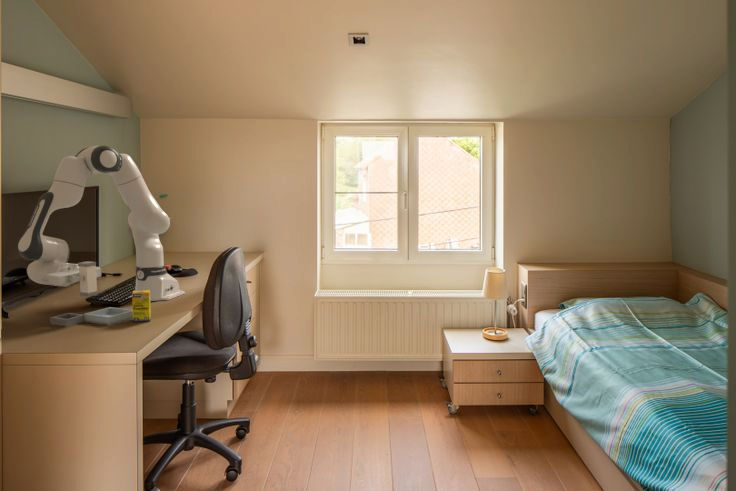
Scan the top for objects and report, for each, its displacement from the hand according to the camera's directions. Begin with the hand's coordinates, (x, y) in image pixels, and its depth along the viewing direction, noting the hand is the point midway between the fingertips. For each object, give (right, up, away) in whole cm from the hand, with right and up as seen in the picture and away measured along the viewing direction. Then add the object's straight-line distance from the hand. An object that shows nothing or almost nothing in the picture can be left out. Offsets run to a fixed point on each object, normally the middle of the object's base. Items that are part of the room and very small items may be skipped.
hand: (89, 277), depth 228 cm
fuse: (-1, -6, +1) cm, 7 cm away
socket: (-7, -16, +1) cm, 18 cm away
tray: (+5, -16, +4) cm, 17 cm away
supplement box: (+17, -16, +4) cm, 24 cm away
